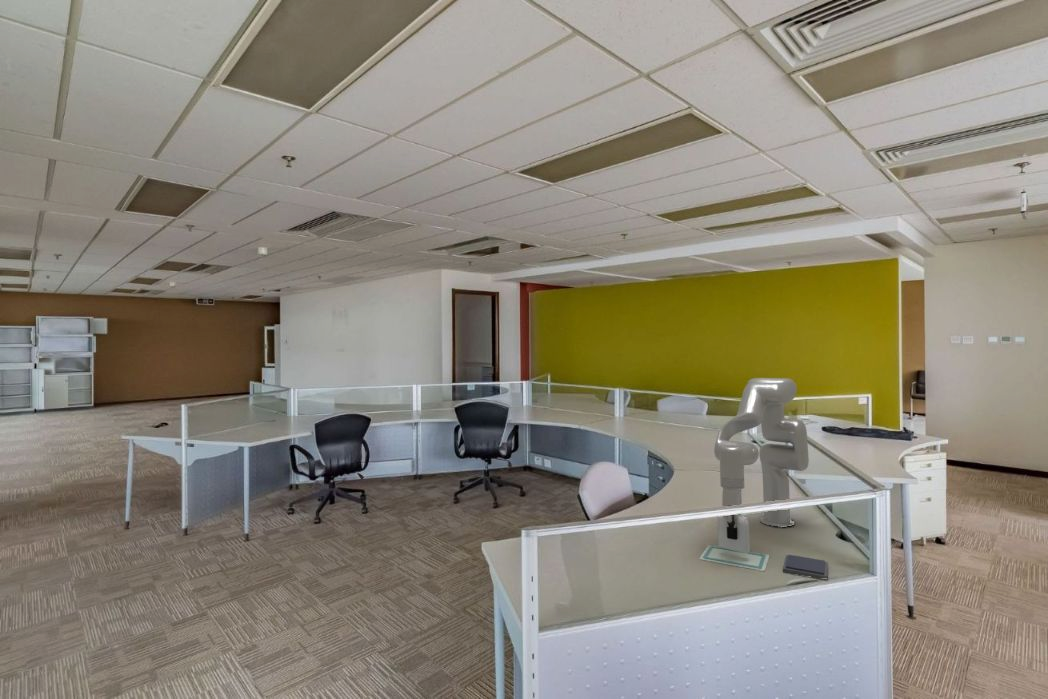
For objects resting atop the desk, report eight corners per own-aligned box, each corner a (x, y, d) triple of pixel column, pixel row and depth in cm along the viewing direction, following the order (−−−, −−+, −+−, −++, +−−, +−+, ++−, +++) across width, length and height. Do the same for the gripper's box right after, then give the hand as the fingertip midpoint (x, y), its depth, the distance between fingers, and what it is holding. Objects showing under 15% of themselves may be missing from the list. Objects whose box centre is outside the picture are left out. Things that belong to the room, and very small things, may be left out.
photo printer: (716, 547, 173) (715, 510, 173) (721, 543, 176) (720, 507, 176) (746, 555, 165) (745, 517, 165) (751, 551, 168) (750, 514, 168)
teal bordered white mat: (708, 545, 182) (708, 543, 182) (769, 555, 171) (769, 554, 171) (699, 559, 170) (699, 557, 170) (764, 571, 159) (764, 569, 159)
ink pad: (786, 558, 169) (785, 553, 169) (827, 565, 162) (827, 560, 162) (782, 572, 158) (782, 566, 158) (827, 580, 152) (827, 574, 152)
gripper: (725, 475, 180) (726, 526, 180) (715, 487, 165) (717, 542, 165) (748, 477, 176) (749, 530, 176) (740, 489, 161) (741, 546, 161)
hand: (733, 535), depth 171 cm, fingers closed on photo printer, 5 cm apart
